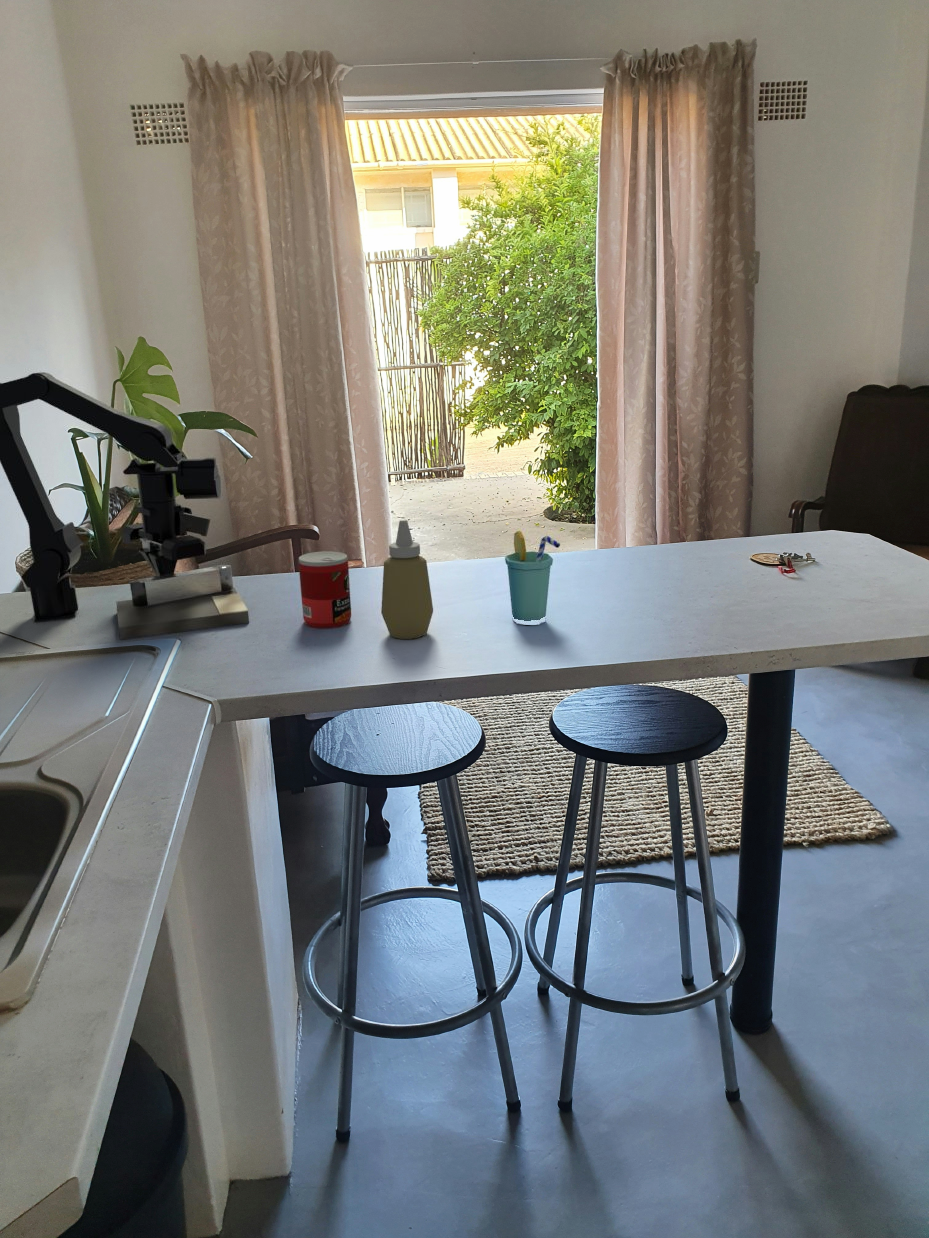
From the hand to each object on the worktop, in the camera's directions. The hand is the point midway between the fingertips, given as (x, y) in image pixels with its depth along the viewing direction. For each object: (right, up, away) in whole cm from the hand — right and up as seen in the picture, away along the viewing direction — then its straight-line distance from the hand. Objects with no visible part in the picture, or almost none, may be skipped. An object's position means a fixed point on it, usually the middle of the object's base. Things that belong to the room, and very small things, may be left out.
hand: (167, 588), depth 155 cm
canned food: (+29, -6, -8) cm, 31 cm away
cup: (+63, -6, -11) cm, 64 cm away
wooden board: (+4, -5, -4) cm, 8 cm away
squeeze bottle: (+43, -8, -15) cm, 46 cm away
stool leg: (+3, -1, -1) cm, 4 cm away
